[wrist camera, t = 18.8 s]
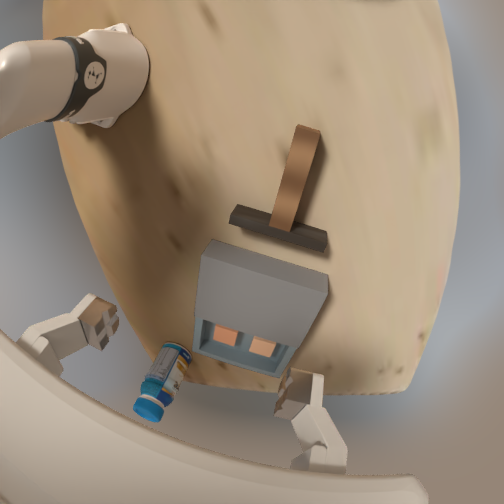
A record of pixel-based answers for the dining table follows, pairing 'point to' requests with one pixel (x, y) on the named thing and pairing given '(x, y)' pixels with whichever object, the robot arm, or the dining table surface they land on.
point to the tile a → (225, 335)
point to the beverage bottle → (162, 381)
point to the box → (239, 351)
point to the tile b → (262, 346)
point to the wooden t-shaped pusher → (288, 198)
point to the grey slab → (258, 293)
